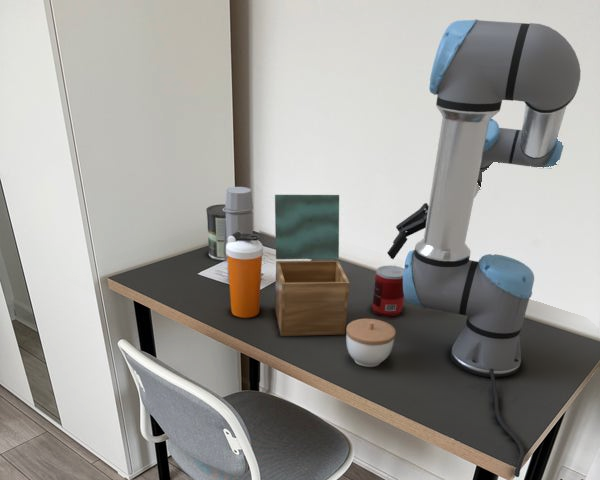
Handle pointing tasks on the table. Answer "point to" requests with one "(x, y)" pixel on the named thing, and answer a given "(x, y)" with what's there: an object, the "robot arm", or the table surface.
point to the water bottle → (238, 213)
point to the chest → (311, 298)
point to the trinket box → (369, 341)
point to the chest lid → (307, 226)
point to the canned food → (388, 291)
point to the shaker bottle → (244, 273)
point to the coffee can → (216, 231)
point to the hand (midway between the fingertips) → (409, 264)
